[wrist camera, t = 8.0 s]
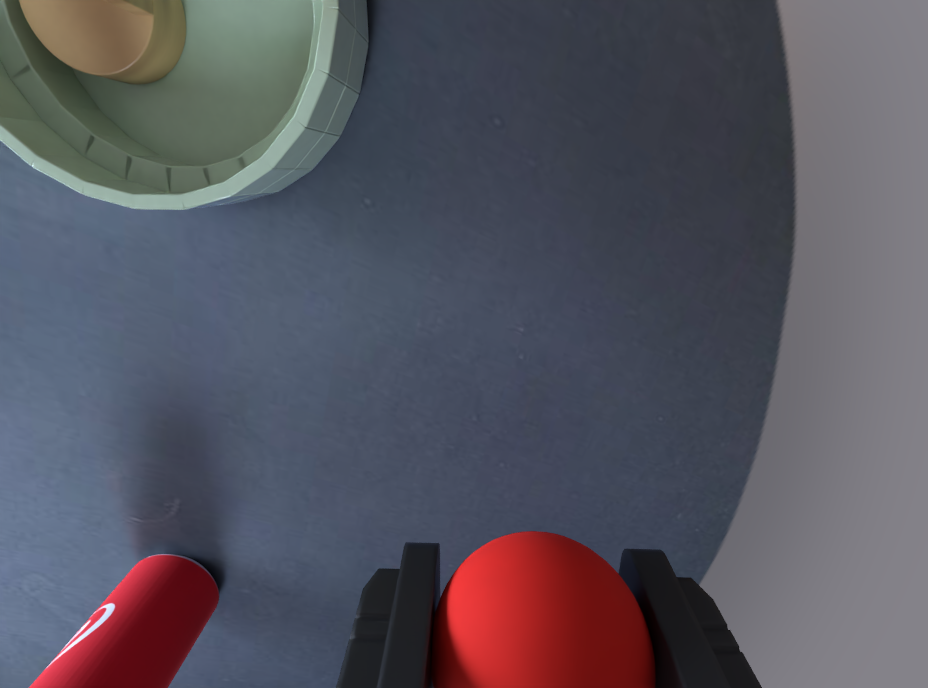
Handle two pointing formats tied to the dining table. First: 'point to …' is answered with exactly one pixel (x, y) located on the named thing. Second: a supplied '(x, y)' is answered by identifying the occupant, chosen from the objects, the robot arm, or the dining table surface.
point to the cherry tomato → (539, 620)
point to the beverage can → (139, 629)
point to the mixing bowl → (191, 105)
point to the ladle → (111, 35)
